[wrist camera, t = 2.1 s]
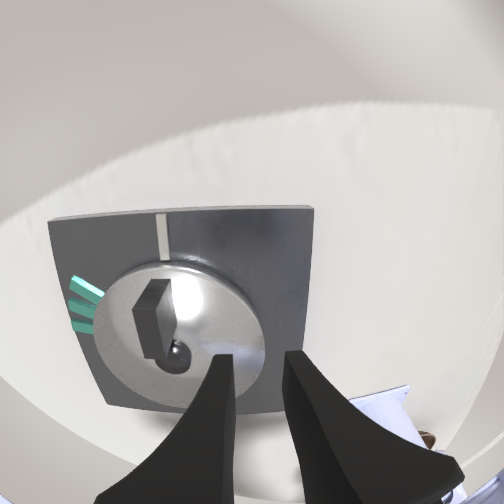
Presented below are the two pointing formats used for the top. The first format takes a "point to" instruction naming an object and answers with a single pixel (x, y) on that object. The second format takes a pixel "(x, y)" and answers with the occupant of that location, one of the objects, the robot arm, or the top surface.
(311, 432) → the robot arm
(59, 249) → the panel
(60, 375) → the top surface
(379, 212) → the top surface
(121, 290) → the dial
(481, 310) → the top surface
